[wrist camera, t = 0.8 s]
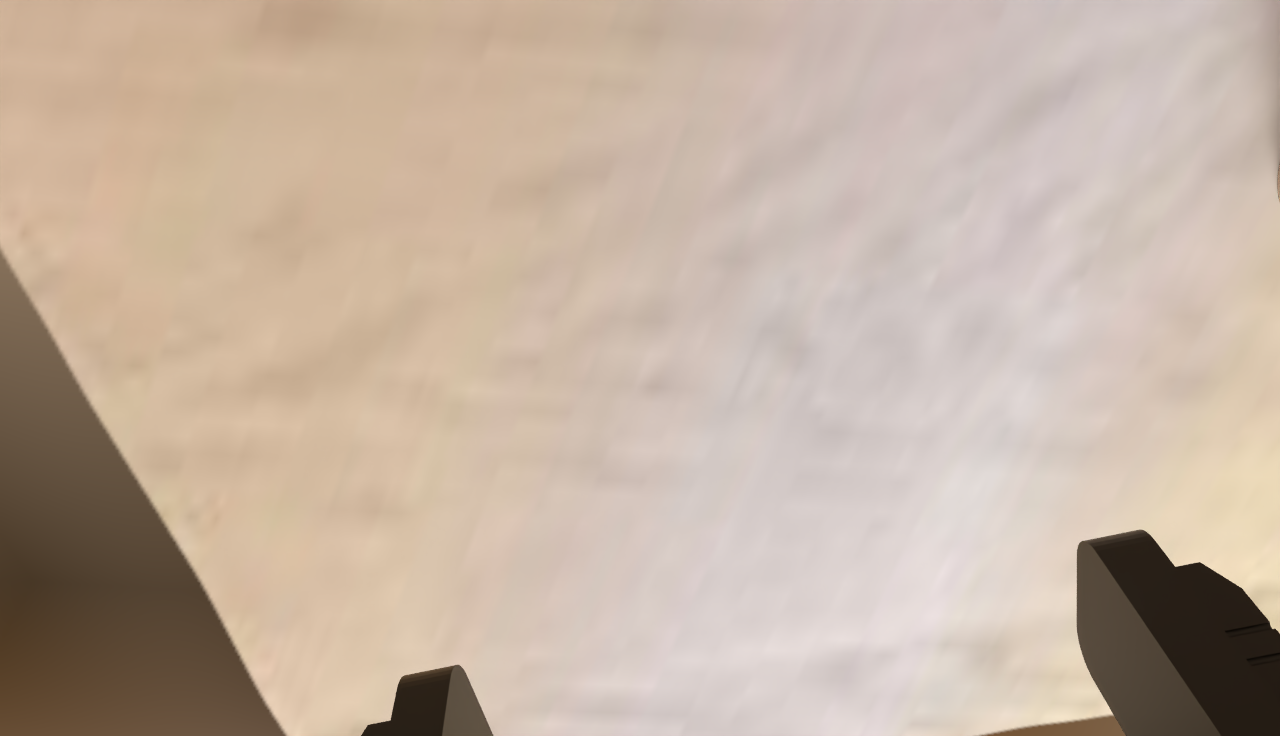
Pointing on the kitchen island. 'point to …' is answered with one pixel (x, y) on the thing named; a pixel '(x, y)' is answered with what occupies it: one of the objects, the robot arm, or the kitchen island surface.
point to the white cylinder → (1279, 183)
